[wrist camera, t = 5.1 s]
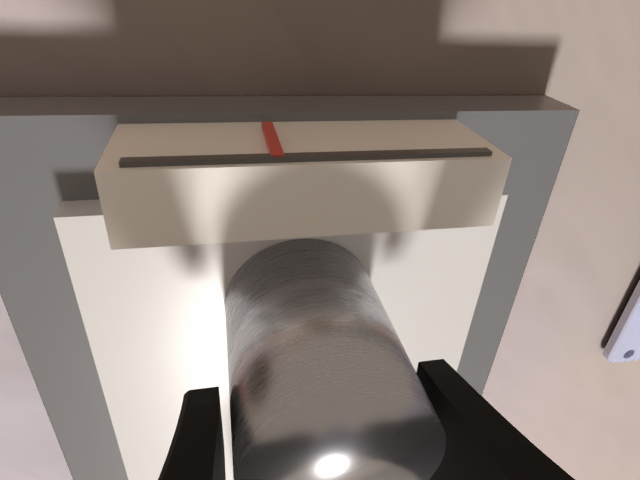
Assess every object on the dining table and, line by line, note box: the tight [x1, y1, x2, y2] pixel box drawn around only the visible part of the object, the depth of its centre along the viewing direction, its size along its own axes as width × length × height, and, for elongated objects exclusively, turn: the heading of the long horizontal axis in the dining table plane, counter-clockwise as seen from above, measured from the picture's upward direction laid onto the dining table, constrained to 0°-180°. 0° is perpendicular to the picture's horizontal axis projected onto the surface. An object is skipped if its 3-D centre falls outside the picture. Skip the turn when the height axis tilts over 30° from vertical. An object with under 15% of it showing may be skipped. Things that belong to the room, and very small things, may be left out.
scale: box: [0, 95, 580, 480], centre depth 15 cm, size 15×17×4 cm
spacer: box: [225, 238, 446, 480], centre depth 11 cm, size 4×4×5 cm
